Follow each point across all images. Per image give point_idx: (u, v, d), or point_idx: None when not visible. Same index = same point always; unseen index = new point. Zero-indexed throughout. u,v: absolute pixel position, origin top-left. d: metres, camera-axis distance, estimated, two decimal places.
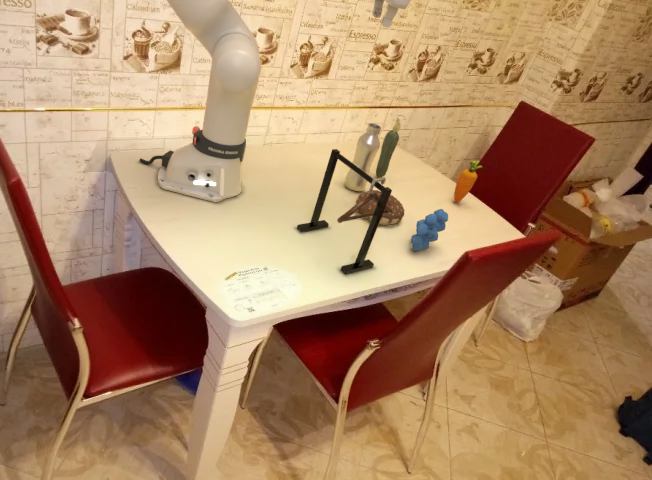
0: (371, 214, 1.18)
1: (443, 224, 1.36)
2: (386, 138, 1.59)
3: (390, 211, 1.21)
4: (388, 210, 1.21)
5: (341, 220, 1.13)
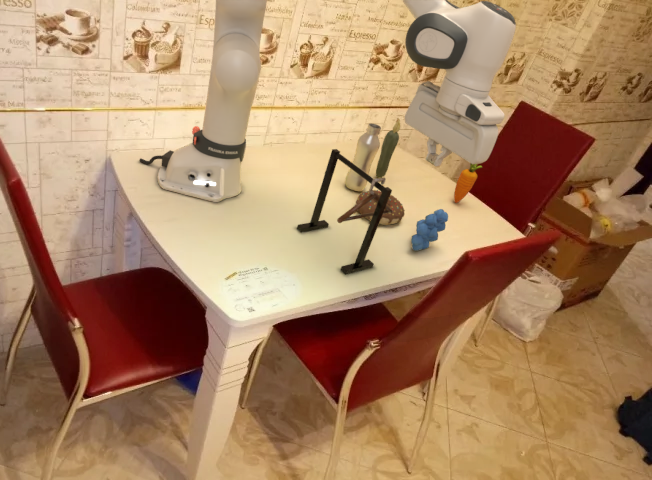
0: (371, 214, 1.18)
1: (443, 224, 1.36)
2: (386, 138, 1.59)
3: (390, 211, 1.21)
4: (388, 210, 1.21)
5: (341, 220, 1.13)
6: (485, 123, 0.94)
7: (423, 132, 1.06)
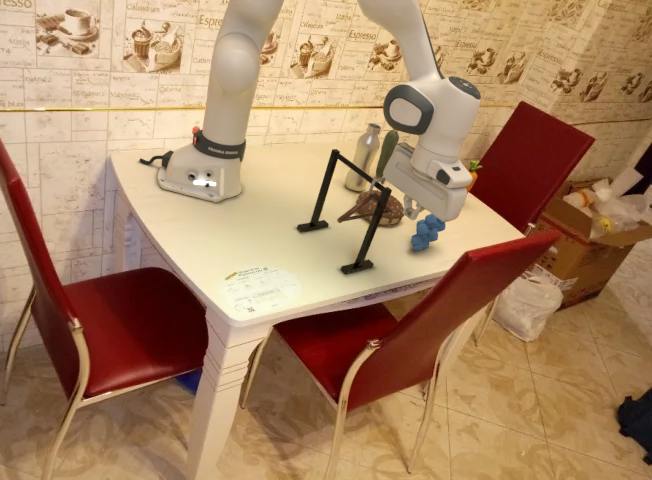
0: (371, 214, 1.18)
1: (443, 224, 1.36)
2: (386, 138, 1.59)
3: (390, 211, 1.21)
4: (388, 210, 1.21)
5: (341, 220, 1.13)
6: (454, 187, 1.02)
7: (400, 189, 1.14)
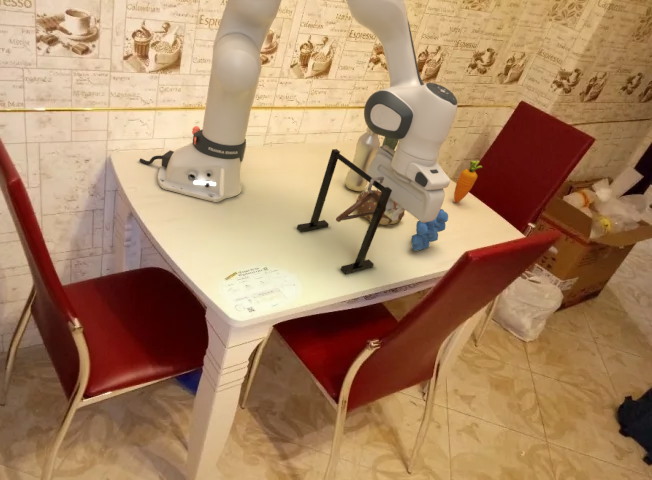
0: (370, 213, 1.19)
1: (443, 224, 1.36)
2: (386, 138, 1.59)
3: None
4: None
5: (340, 219, 1.13)
6: (431, 189, 1.07)
7: None
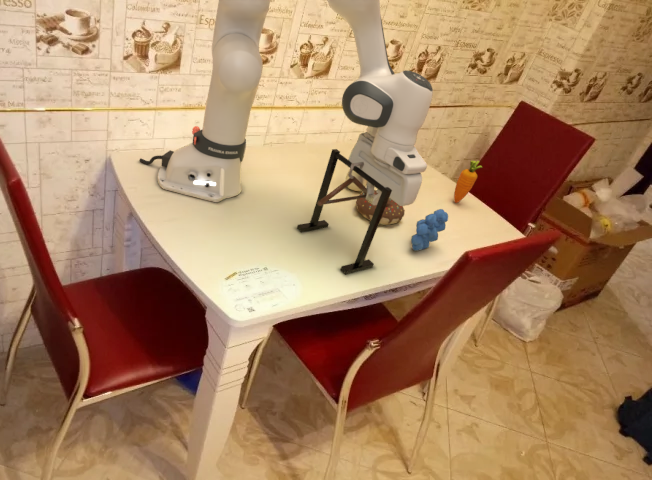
0: (351, 198, 1.22)
1: (443, 224, 1.36)
2: None
3: None
4: None
5: (321, 203, 1.17)
6: (409, 173, 1.11)
7: None
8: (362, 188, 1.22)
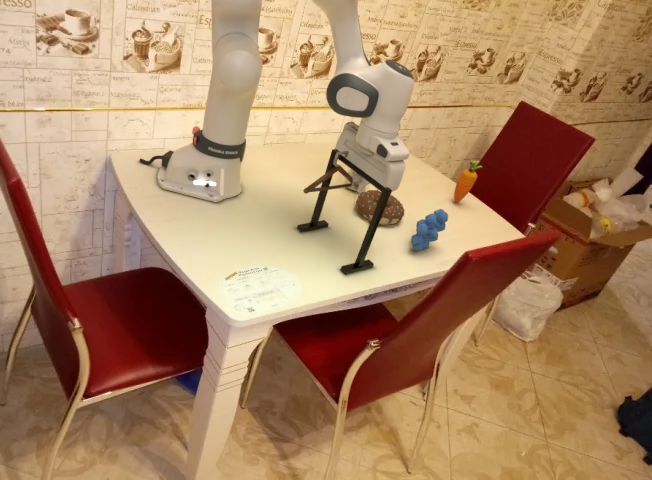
0: (337, 186, 1.26)
1: (443, 224, 1.36)
2: None
3: None
4: None
5: (307, 191, 1.20)
6: (391, 160, 1.14)
7: None
8: (347, 177, 1.25)
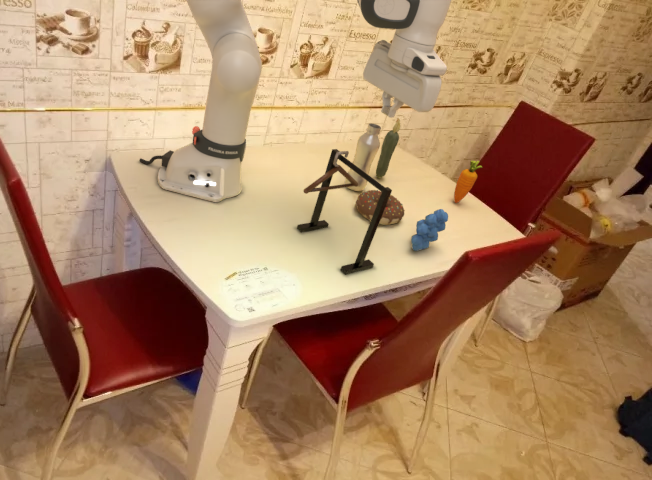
0: (337, 186, 1.26)
1: (443, 224, 1.36)
2: (386, 138, 1.59)
3: (355, 184, 1.29)
4: (353, 183, 1.28)
5: (307, 191, 1.20)
6: (428, 73, 1.06)
7: (378, 86, 1.18)
8: (347, 177, 1.25)
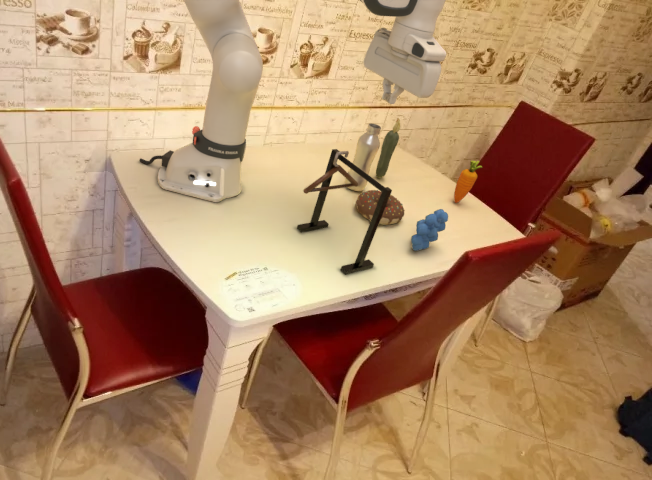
0: (337, 186, 1.26)
1: (443, 224, 1.36)
2: (386, 138, 1.59)
3: (355, 184, 1.29)
4: (353, 183, 1.28)
5: (307, 191, 1.20)
6: (428, 59, 1.08)
7: (379, 73, 1.20)
8: (347, 177, 1.25)
